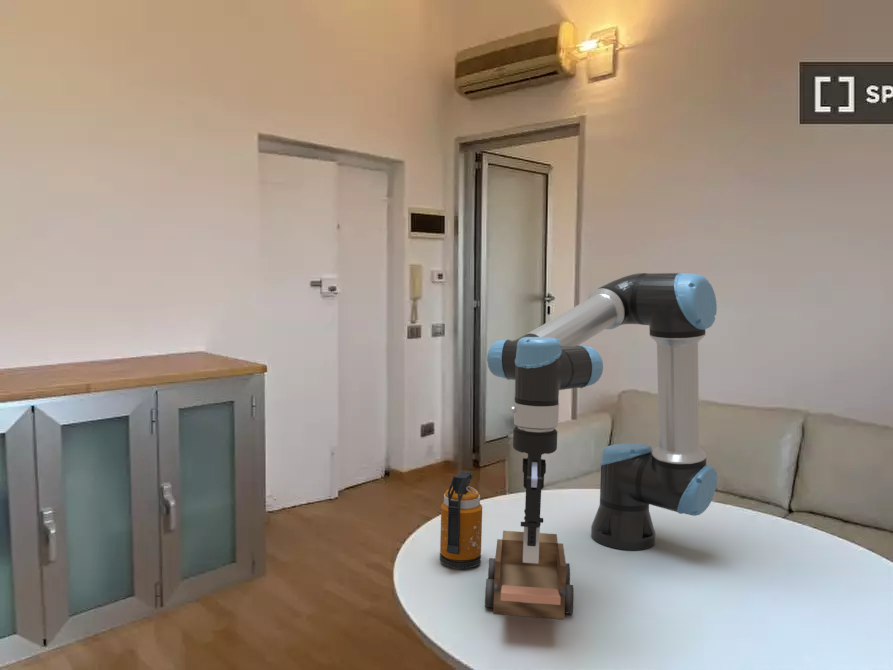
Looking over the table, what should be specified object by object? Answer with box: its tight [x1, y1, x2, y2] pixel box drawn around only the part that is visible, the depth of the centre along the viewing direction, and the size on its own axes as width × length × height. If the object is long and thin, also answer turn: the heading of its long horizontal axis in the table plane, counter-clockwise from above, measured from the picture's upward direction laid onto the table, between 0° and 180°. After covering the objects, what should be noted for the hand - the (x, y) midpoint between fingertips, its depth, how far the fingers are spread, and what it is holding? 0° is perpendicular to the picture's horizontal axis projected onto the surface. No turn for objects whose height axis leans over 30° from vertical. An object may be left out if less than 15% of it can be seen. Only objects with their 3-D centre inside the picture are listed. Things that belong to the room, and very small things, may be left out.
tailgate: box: [501, 585, 561, 605], centre depth 119 cm, size 10×2×10 cm
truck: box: [484, 530, 575, 620], centre depth 132 cm, size 16×17×10 cm
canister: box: [439, 470, 483, 570], centre depth 146 cm, size 9×11×20 cm
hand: (530, 561), depth 117 cm, fingers closed
